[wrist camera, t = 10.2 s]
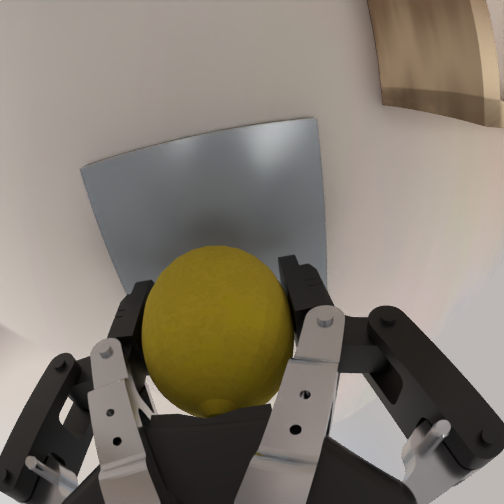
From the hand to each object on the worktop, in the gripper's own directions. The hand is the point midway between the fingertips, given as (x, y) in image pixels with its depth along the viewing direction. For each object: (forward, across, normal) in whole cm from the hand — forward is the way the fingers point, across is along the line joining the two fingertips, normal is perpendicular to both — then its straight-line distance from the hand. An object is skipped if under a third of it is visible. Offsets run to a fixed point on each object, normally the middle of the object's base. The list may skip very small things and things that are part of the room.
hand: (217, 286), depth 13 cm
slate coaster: (+4, 0, 0) cm, 4 cm away
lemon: (+2, 0, 0) cm, 2 cm away
